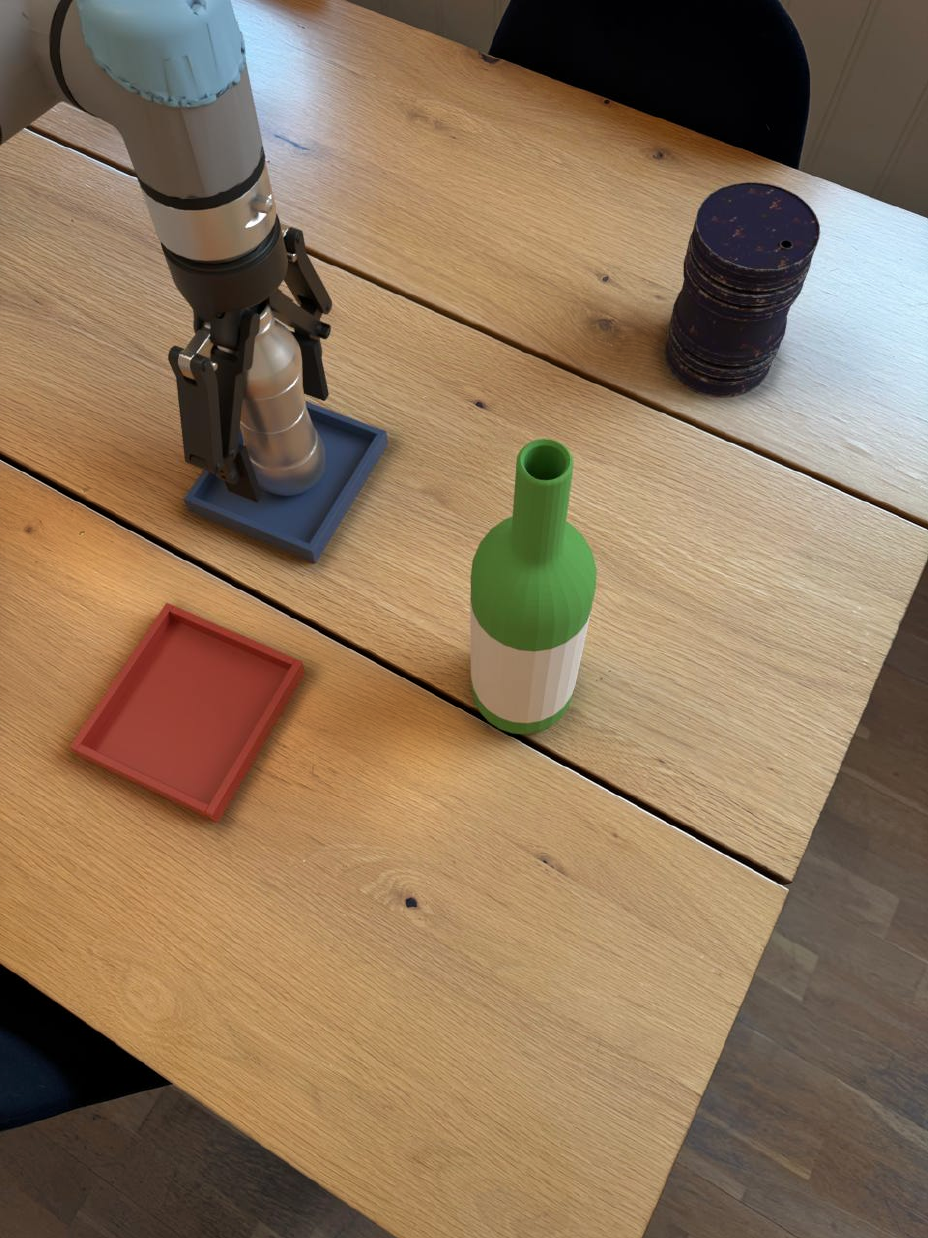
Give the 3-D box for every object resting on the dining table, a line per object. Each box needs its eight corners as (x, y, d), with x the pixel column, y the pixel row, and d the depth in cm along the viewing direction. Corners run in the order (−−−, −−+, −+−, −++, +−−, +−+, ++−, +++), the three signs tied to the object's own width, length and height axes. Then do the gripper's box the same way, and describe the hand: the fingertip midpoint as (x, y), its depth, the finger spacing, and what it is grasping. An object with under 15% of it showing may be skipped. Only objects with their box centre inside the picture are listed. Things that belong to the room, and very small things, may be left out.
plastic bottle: (319, 511, 85) (278, 345, 67) (241, 499, 86) (180, 332, 68) (337, 449, 88) (302, 274, 70) (261, 438, 89) (207, 263, 71)
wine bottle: (580, 657, 79) (633, 412, 53) (562, 749, 76) (609, 538, 49) (483, 637, 80) (486, 387, 53) (460, 727, 77) (452, 508, 50)
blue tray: (188, 511, 86) (183, 498, 84) (266, 398, 91) (263, 384, 89) (315, 563, 83) (312, 551, 82) (388, 444, 89) (386, 431, 87)
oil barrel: (640, 353, 93) (667, 222, 80) (711, 298, 96) (749, 163, 83) (723, 416, 90) (766, 291, 76) (794, 357, 93) (848, 226, 79)
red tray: (77, 756, 76) (68, 747, 74) (172, 613, 81) (166, 602, 80) (217, 823, 74) (211, 815, 72) (306, 671, 79) (302, 661, 77)
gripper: (170, 375, 58) (248, 569, 77) (357, 127, 67) (384, 357, 87) (60, 333, 59) (164, 534, 79) (259, 97, 68) (307, 329, 88)
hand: (279, 441), depth 83 cm, fingers open, 10 cm apart
